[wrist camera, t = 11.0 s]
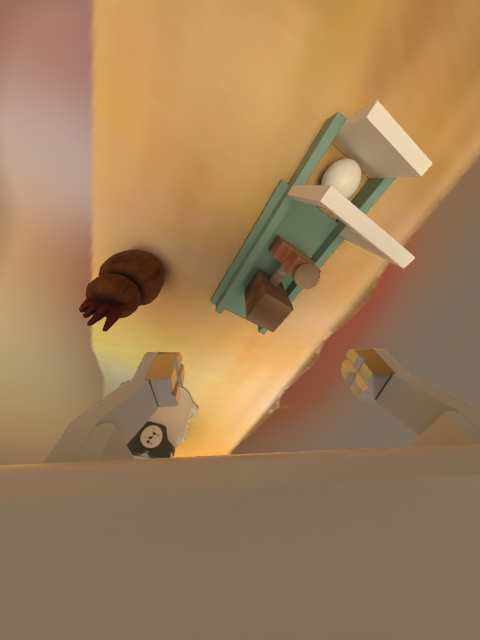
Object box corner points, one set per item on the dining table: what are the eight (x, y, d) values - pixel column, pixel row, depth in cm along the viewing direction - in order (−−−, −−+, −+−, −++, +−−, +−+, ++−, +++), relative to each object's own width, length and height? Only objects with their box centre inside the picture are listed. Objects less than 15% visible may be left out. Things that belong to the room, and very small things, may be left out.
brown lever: (268, 303, 31) (279, 346, 23) (241, 289, 30) (243, 329, 22) (307, 253, 27) (338, 283, 19) (278, 233, 26) (298, 256, 17)
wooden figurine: (176, 262, 29) (131, 321, 17) (162, 292, 32) (114, 362, 19) (129, 236, 27) (37, 280, 14) (118, 270, 30) (32, 332, 17)
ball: (351, 180, 24) (332, 212, 25) (327, 158, 23) (307, 192, 24) (378, 168, 20) (353, 206, 21) (351, 141, 19) (326, 183, 20)
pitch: (266, 326, 36) (279, 390, 24) (211, 298, 32) (197, 359, 21) (387, 180, 24) (522, 176, 12) (319, 113, 20) (418, 27, 9)
